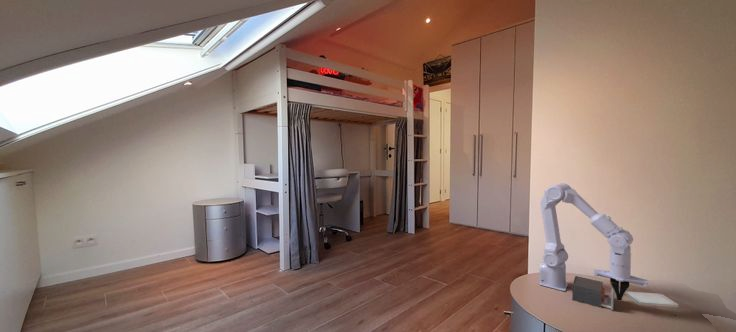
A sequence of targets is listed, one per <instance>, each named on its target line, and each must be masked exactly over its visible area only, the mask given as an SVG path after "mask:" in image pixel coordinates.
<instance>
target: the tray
mask: <svg viewBox="0 0 736 332" xmlns="http://www.w3.org/2000/svg"><path fill="white" fill-rule="evenodd" d="M610 292H611V293H610V295H609V294H605V299H604V301H601V307H604V308H607V309H610V310H612V311H614V302H615V300H614V299H615V296H614V295H615V291H614V288H613V286H612V285H611V291H610Z"/></svg>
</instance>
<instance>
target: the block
mask: <svg viewBox="0 0 736 332" xmlns="http://www.w3.org/2000/svg"><path fill="white" fill-rule="evenodd" d="M605 291H606V287H604V286H603V287H602V294H601V301H604V299H605V295H606V292H605Z"/></svg>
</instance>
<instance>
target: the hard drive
mask: <svg viewBox="0 0 736 332" xmlns="http://www.w3.org/2000/svg"><path fill="white" fill-rule="evenodd" d="M625 294H627V295H628V296H629V297H630V298H629V297H628V296H627V295H626V296H627V297H628V298H629V299H631V298H632V299H633V300H634V301H633V300H632V299H631V300H632V301H633V302H634V303H636V304H637V305H640V306H642V305H643V306H652V307H653V306H654V307H656V306H657V307H667V308H668V307H670V308H679V307H680V306H679V304H678V303H676V302H675V301H673V300H672V299H670V298H669V297H667V296H666V295H664V294H663V293H657V292H655V293H653V292H640V291H639V292H638V291H627V290H626V291H625ZM625 294H624V295H625Z"/></svg>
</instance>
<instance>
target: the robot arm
mask: <svg viewBox="0 0 736 332" xmlns="http://www.w3.org/2000/svg"><path fill="white" fill-rule="evenodd" d="M561 202H562V203H565V204H571V205H573V206H575V207H576V208H577V209H578V210H579V211H580V212H582V213H583V214H584V215H585V216H587V217H588V218H589V219H590V225H592V226H593V228H595V229H596V230H597V231H598V232H599V233H600V234H602V235H603V236H604V237H605V238H606V239H607V242H608V244H609V245H610V246H609V248H610V250H609V270H603V269H602V270H601V269H596V268H595V269H594V273H593V274H594V277H601V278H606V279H609V283H610V285H611V287H612V286H613V288H614V294H615V297H616V300H617V301H620V302H622V301H623V297H624V295H625V294H624V293H625V291H627V290H628V289H629V287H630V284H634V285H639V286H642V287H644V288H645V287H646V288H648V282H649V281H648V280H647V279H644V278H642V277H641V278H640V277H637V276H634V275H631V268H632V267H631V264H632V263H631V261H632V260H631V258H632V253H631V251H632V250H631V249H632V248H631V247H632V246H631V244H633V241H634V237H633V236H632V234H631V233H630V231H628V230H626V229H624V228H623V227H622V226H619V225H618V224H617V223H615V222H614V220H612V217H611V216H610V215H606V214H604V213H599V212H597V211H596V210H595V208H593V206H591V205H590V204H589V202H588V201H586V199H584V198H583V197H582V196H581V195H580V194H579V193H578V192H577V190H575V189H574V188H573V187H571V186H570V185H569V184H567V183H564V182H563V183H559V184H555V185H550V186H549V187H547V188H546V189H545V190H544V192H543V196H542V198H541V201H540V210H541V215H542V221H543V229H544V235H545V242H546V243H545V246H544V249H543V251H544V254H543V256H542V257H543V258H542V259H543V261H544V262H543V261H542V262H540V264H539V273H538V274H539V277H538V279H539V283H538V285H539V286H544V287H547V288H552V289H554V290H557V291H562V292H566V290H567V289H568V285H569V283H568V282H567V279H566V277H567V275H566V274H567V271H566V270H567V267H566V265H567V264H566V262H567V261H568V260H569V255H568V252H567V250H566V249H565V245H564V244H563V242H562V241H561V240H562V239H561V234H560V228H559V221H558V215H557V209H556V206H557V205H559V203H561Z"/></svg>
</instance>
